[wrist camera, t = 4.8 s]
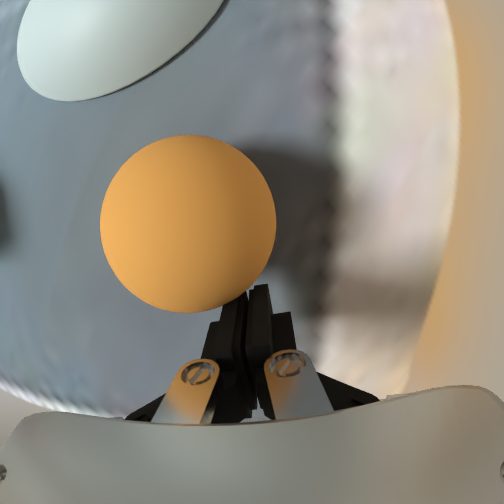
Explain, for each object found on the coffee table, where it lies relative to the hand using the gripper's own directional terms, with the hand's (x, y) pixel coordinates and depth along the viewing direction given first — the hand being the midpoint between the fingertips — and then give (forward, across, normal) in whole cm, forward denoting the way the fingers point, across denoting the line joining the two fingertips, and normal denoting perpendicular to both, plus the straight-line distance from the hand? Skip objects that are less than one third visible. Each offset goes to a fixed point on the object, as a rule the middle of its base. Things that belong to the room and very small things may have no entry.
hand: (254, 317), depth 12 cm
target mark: (+2, +4, -17) cm, 18 cm away
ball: (-1, +2, -4) cm, 5 cm away
